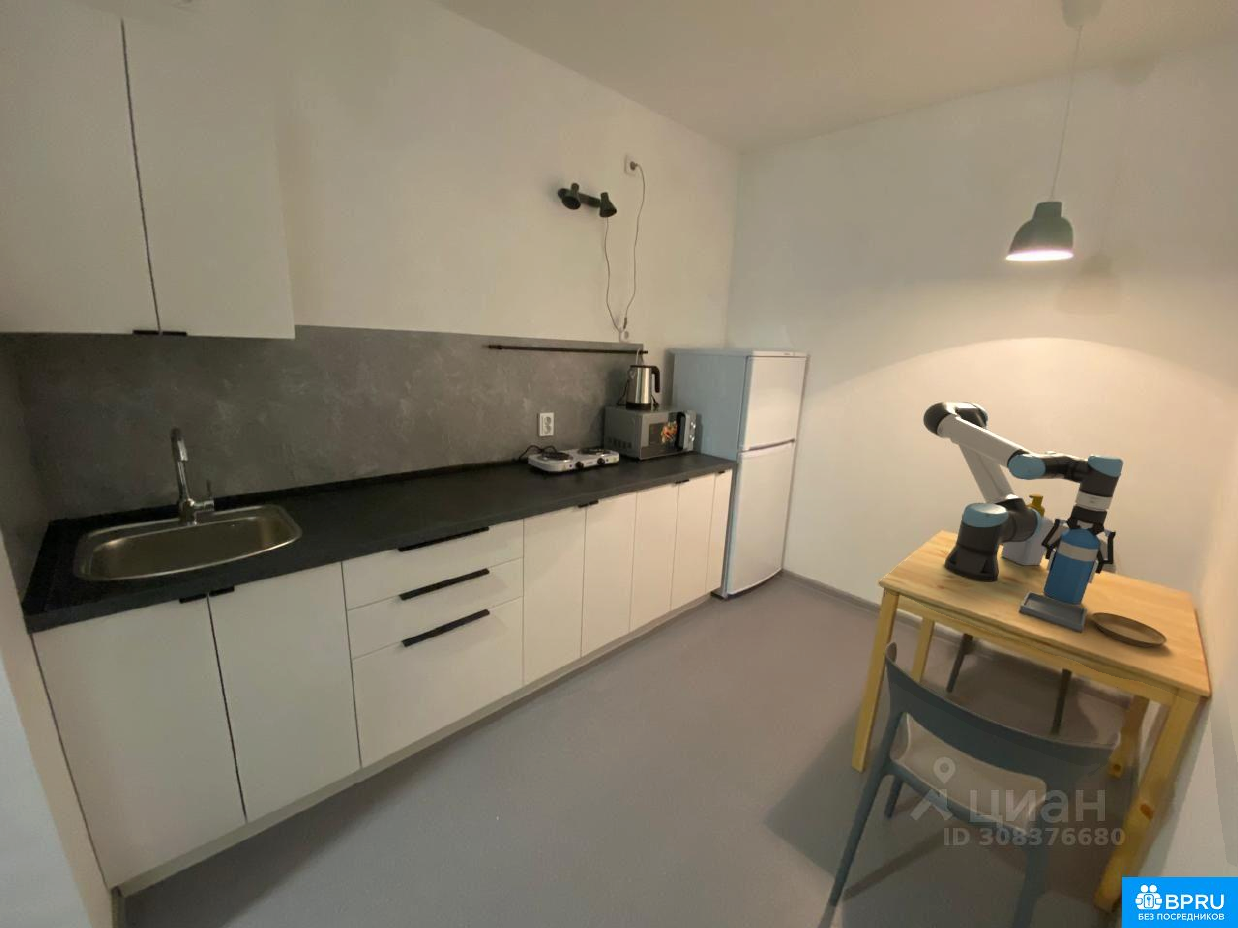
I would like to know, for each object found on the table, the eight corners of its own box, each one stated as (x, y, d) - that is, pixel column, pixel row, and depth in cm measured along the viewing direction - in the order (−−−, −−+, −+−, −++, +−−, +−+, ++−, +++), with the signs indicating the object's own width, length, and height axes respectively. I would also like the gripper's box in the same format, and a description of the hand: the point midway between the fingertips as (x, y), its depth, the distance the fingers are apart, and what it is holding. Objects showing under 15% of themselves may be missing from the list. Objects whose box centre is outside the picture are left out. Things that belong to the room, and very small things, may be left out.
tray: (1018, 611, 144) (1020, 605, 144) (1026, 597, 153) (1028, 590, 153) (1081, 633, 135) (1083, 626, 134) (1085, 616, 144) (1087, 609, 143)
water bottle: (1089, 605, 149) (1116, 528, 143) (1054, 601, 151) (1079, 524, 145) (1069, 590, 158) (1093, 517, 152) (1036, 586, 160) (1058, 513, 153)
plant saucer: (1125, 621, 143) (1128, 613, 142) (1180, 653, 128) (1184, 644, 128) (1074, 618, 143) (1076, 610, 142) (1123, 650, 129) (1126, 641, 128)
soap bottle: (998, 555, 184) (1016, 491, 178) (1017, 554, 186) (1035, 491, 180) (1022, 566, 176) (1042, 499, 169) (1042, 565, 178) (1061, 499, 172)
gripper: (1042, 499, 152) (1022, 565, 158) (1143, 520, 137) (1117, 593, 143) (1045, 494, 157) (1026, 559, 163) (1143, 515, 142) (1117, 585, 148)
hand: (1068, 575), depth 153 cm, fingers closed on water bottle, 9 cm apart
